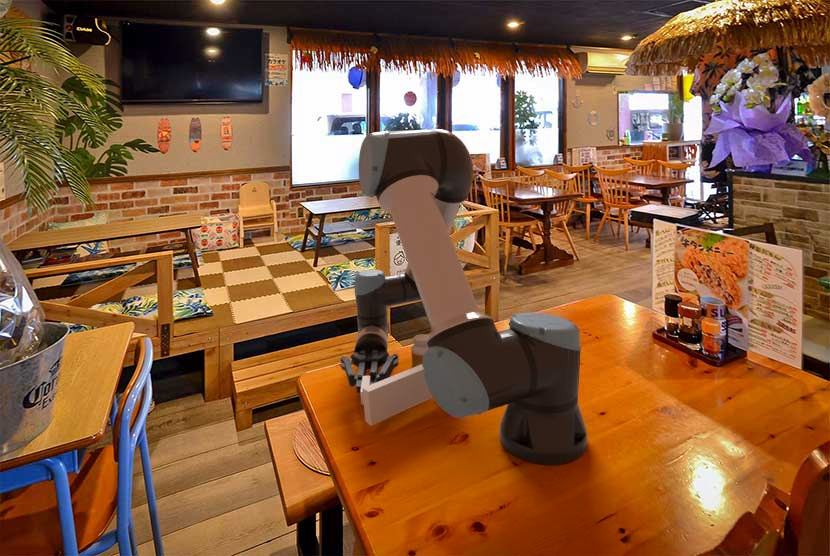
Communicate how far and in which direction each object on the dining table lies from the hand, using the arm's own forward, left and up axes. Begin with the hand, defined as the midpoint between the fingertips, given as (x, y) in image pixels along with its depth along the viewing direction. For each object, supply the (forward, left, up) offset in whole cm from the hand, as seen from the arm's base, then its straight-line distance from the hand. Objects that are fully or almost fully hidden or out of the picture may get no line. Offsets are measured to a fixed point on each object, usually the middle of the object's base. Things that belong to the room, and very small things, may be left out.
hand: (364, 397), depth 93 cm
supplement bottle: (+21, -12, -7) cm, 26 cm away
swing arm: (+4, -8, -4) cm, 10 cm away
